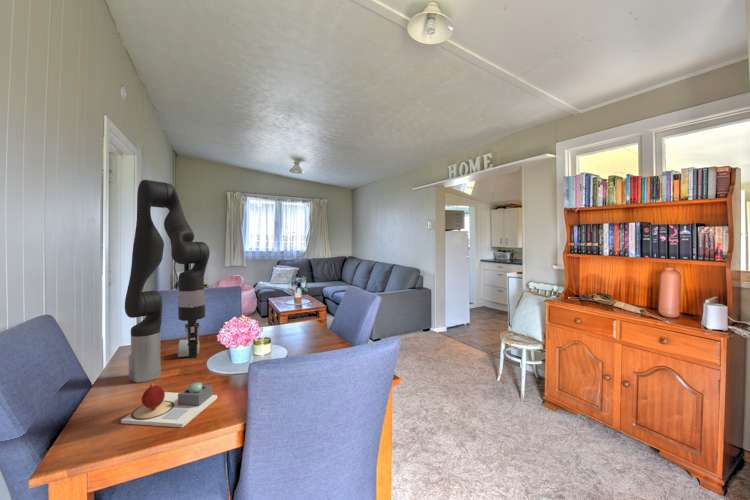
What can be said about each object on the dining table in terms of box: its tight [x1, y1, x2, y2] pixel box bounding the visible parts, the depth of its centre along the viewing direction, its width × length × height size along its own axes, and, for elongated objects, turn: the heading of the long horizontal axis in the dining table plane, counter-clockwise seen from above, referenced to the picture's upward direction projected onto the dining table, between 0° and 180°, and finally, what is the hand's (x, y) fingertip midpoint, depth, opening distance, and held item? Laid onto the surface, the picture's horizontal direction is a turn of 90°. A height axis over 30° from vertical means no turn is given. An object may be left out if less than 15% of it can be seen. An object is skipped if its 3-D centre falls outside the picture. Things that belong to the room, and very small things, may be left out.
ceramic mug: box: [177, 339, 201, 358], centre depth 148 cm, size 11×8×8 cm
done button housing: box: [178, 384, 213, 406], centre depth 105 cm, size 7×7×4 cm
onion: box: [141, 383, 166, 410], centre depth 99 cm, size 6×6×8 cm
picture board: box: [120, 391, 218, 428], centre depth 101 cm, size 20×17×1 cm
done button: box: [188, 381, 203, 393], centre depth 105 cm, size 4×4×3 cm
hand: (192, 353), depth 104 cm, fingers open, 8 cm apart
